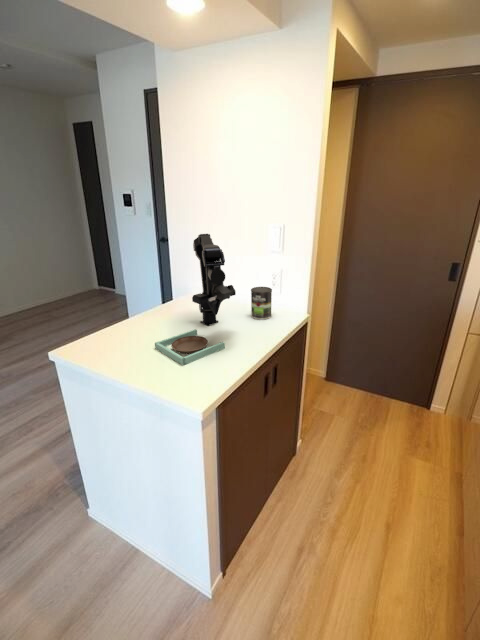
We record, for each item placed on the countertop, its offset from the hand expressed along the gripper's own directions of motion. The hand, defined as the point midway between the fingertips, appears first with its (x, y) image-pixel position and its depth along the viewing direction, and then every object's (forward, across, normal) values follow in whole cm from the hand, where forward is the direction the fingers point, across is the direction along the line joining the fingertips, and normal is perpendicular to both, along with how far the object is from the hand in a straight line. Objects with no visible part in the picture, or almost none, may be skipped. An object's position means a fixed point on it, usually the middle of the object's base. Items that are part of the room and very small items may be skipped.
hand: (215, 314), depth 139 cm
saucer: (+12, -14, 0) cm, 18 cm away
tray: (+11, -14, 0) cm, 18 cm away
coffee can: (+11, +33, +5) cm, 35 cm away
